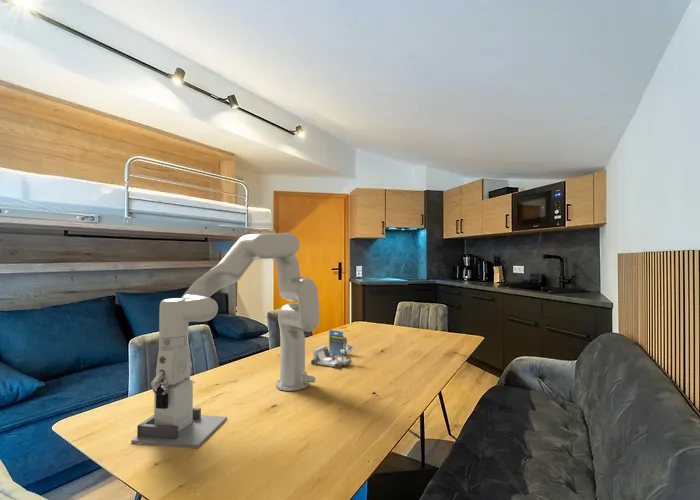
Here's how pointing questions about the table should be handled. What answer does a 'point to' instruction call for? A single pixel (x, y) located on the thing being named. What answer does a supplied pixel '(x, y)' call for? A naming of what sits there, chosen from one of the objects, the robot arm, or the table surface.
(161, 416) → the supplement box
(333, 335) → the label tape cartridge
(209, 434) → the box holder
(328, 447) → the table surface
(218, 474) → the table surface
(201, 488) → the table surface
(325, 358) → the toy car
